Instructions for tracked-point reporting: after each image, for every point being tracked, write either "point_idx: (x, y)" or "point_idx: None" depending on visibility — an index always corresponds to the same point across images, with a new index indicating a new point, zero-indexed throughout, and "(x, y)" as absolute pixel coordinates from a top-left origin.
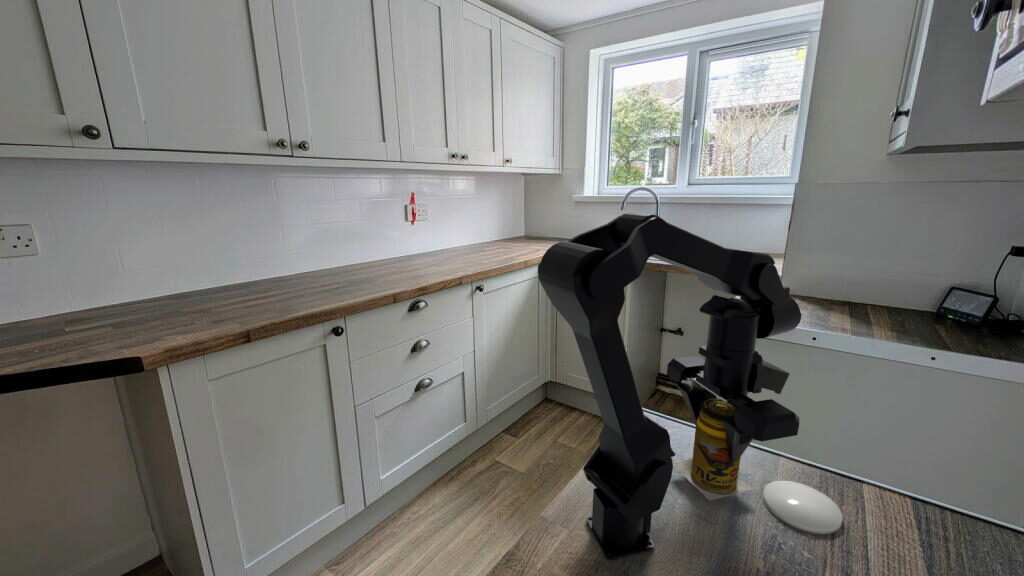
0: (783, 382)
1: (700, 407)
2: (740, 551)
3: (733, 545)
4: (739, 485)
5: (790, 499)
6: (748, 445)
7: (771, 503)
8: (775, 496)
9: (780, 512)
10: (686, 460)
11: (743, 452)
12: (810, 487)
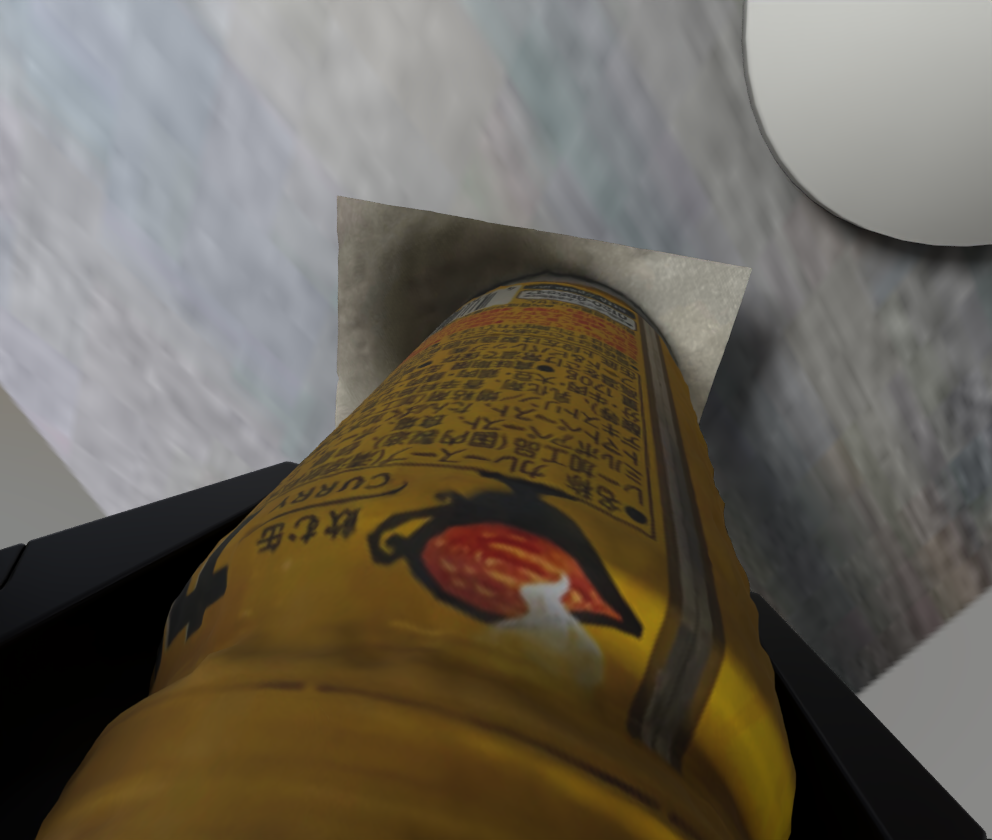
0: None
1: (36, 821)
2: (870, 592)
3: (832, 587)
4: (674, 315)
5: (953, 16)
6: (936, 782)
7: (864, 205)
8: (856, 107)
9: (945, 233)
10: (348, 395)
11: (832, 675)
12: None
